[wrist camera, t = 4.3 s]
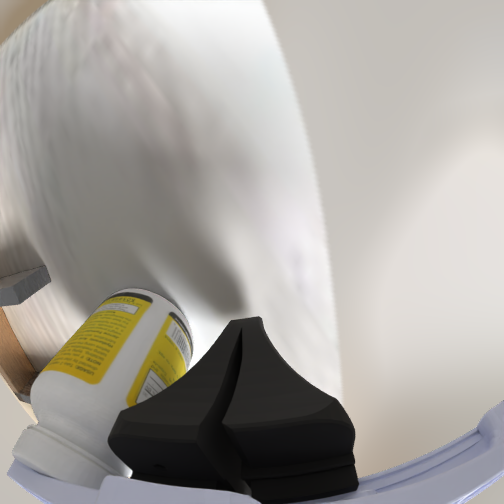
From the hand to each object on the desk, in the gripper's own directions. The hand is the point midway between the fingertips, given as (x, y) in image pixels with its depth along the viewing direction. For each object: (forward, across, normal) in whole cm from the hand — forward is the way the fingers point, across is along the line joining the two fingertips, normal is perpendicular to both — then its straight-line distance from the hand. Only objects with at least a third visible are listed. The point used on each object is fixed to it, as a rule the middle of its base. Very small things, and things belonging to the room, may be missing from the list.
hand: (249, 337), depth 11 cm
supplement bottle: (+2, +6, 0) cm, 6 cm away
